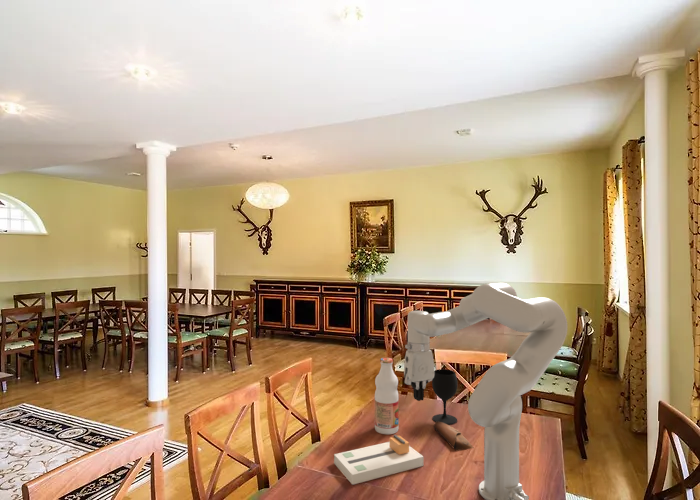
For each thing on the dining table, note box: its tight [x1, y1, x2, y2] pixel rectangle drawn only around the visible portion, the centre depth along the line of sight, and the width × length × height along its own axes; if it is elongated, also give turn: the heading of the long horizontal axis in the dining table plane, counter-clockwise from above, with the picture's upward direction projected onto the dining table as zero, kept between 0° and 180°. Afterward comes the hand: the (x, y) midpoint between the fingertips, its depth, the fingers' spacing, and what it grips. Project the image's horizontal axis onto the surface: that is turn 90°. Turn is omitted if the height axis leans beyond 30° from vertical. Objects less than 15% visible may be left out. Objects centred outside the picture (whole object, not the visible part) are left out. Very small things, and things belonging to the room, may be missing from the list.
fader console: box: [333, 441, 425, 486], centre depth 137 cm, size 26×14×3 cm, turn 115°
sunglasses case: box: [433, 422, 474, 451], centre depth 156 cm, size 18×7×7 cm, turn 13°
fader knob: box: [389, 434, 410, 455], centre depth 140 cm, size 4×6×4 cm, turn 25°
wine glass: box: [431, 368, 458, 426], centre depth 173 cm, size 10×10×20 cm
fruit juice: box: [374, 357, 400, 435], centre depth 163 cm, size 9×9×28 cm
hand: (418, 399), depth 144 cm, fingers closed
